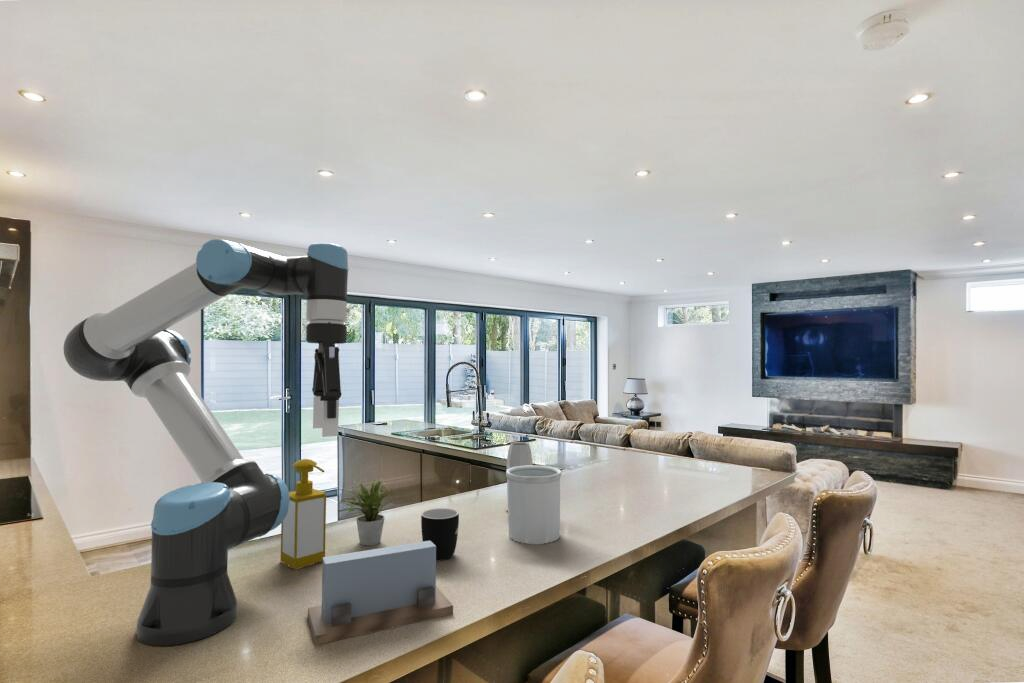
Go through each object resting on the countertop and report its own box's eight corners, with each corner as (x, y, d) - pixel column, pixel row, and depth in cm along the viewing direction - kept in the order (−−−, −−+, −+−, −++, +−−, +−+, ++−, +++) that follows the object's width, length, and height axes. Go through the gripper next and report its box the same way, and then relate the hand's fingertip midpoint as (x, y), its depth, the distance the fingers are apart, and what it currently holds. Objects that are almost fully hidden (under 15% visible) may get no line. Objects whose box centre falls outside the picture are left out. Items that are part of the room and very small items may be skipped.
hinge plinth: (315, 645, 86) (315, 617, 86) (307, 616, 96) (308, 591, 96) (453, 613, 97) (453, 588, 97) (433, 590, 107) (433, 568, 107)
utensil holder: (532, 550, 131) (532, 478, 132) (494, 535, 142) (495, 469, 143) (572, 537, 141) (572, 471, 141) (534, 524, 152) (534, 463, 152)
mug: (461, 560, 123) (461, 517, 124) (422, 564, 121) (423, 519, 121) (453, 543, 135) (453, 503, 135) (417, 547, 133) (418, 506, 133)
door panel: (324, 623, 90) (325, 564, 91) (321, 614, 94) (322, 557, 94) (435, 599, 100) (436, 546, 100) (429, 592, 103) (430, 540, 103)
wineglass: (533, 515, 161) (533, 445, 162) (505, 514, 161) (505, 445, 162) (532, 507, 170) (533, 441, 171) (505, 507, 170) (506, 441, 171)
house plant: (352, 531, 144) (353, 471, 145) (402, 532, 144) (403, 471, 145) (332, 549, 130) (334, 483, 131) (388, 550, 130) (389, 483, 130)
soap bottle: (306, 576, 114) (308, 466, 115) (280, 561, 123) (282, 459, 124) (336, 567, 119) (338, 462, 120) (310, 553, 128) (312, 455, 129)
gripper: (359, 319, 94) (357, 438, 93) (336, 327, 116) (334, 424, 116) (314, 317, 91) (312, 441, 90) (300, 326, 113) (297, 425, 112)
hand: (324, 432), depth 103 cm, fingers open, 13 cm apart
